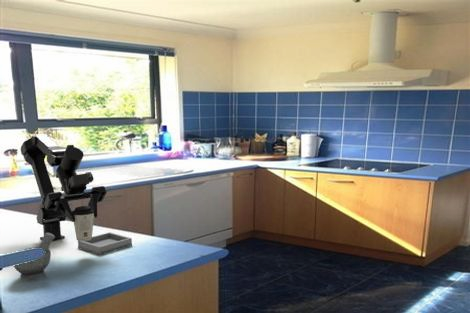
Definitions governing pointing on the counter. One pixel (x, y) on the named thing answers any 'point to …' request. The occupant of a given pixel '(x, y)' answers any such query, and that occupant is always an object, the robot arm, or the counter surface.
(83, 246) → the tray
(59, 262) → the counter surface
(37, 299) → the counter surface
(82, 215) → the coffee cup
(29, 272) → the mortar and pestle
